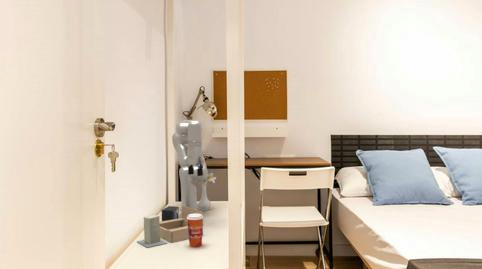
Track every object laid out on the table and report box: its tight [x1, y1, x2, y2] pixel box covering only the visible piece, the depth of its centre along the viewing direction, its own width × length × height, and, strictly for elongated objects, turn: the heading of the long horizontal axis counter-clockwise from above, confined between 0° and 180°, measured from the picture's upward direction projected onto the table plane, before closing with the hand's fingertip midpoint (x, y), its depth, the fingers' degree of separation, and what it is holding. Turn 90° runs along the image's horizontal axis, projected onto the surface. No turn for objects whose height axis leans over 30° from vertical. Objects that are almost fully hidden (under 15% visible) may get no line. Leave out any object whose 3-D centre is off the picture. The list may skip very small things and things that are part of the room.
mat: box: [136, 238, 168, 249], centre depth 177 cm, size 12×10×1 cm
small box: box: [161, 205, 180, 222], centre depth 207 cm, size 11×6×10 cm, turn 168°
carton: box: [160, 206, 204, 243], centre depth 191 cm, size 22×18×12 cm
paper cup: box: [187, 214, 204, 248], centre depth 172 cm, size 8×8×14 cm
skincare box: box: [143, 214, 161, 244], centre depth 177 cm, size 6×4×12 cm
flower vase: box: [192, 172, 217, 212], centre depth 249 cm, size 13×18×25 cm
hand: (195, 175), depth 208 cm, fingers open, 9 cm apart
